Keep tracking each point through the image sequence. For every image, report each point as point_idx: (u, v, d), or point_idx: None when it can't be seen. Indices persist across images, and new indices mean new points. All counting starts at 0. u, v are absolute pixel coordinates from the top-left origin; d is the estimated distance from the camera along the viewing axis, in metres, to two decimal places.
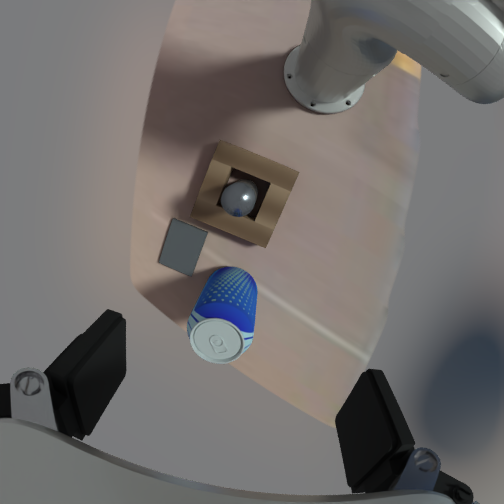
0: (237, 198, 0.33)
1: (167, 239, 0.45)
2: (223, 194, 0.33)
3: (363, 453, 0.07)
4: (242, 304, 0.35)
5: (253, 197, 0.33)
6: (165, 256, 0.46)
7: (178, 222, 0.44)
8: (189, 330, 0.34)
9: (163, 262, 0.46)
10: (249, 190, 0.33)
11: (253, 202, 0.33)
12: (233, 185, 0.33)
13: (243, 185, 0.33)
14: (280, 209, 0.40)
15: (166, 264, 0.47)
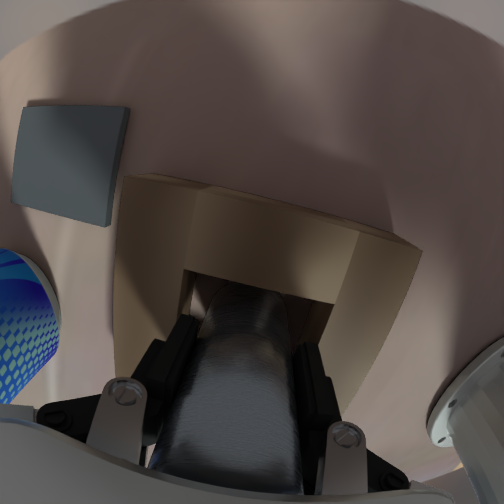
0: None
1: (70, 109, 0.11)
2: (235, 472, 0.04)
3: None
4: None
5: None
6: (34, 119, 0.11)
7: (116, 128, 0.12)
8: None
9: (23, 119, 0.11)
10: None
11: None
12: (291, 491, 0.05)
13: None
14: None
15: (21, 128, 0.12)
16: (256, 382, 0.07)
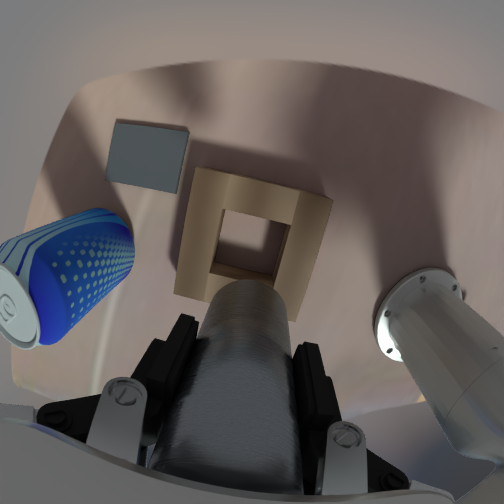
0: None
1: (153, 129, 0.25)
2: (235, 471, 0.04)
3: None
4: (77, 316, 0.18)
5: None
6: (126, 131, 0.25)
7: (183, 142, 0.25)
8: (5, 252, 0.14)
9: (116, 130, 0.25)
10: None
11: None
12: (292, 490, 0.05)
13: None
14: None
15: (114, 136, 0.25)
16: (257, 381, 0.07)
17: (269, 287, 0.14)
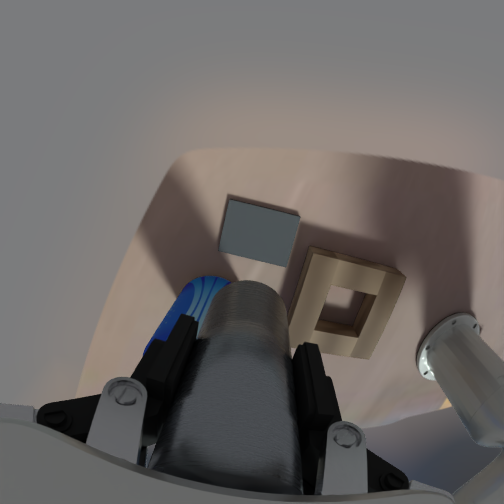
0: None
1: (268, 211, 0.31)
2: (235, 474, 0.04)
3: None
4: None
5: None
6: (241, 209, 0.31)
7: (296, 226, 0.32)
8: None
9: (231, 207, 0.31)
10: None
11: None
12: (291, 492, 0.05)
13: None
14: (329, 351, 0.33)
15: (228, 212, 0.32)
16: (256, 384, 0.07)
17: (269, 288, 0.14)
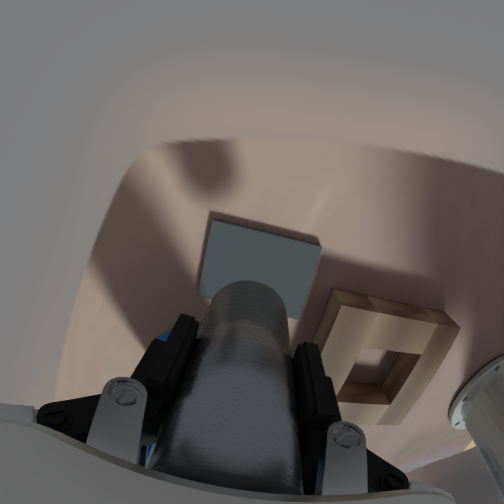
0: None
1: (272, 238, 0.20)
2: (235, 474, 0.04)
3: None
4: None
5: None
6: (230, 235, 0.20)
7: (314, 260, 0.20)
8: None
9: (215, 231, 0.20)
10: None
11: None
12: (291, 492, 0.05)
13: None
14: (351, 422, 0.22)
15: (211, 239, 0.20)
16: (256, 384, 0.07)
17: (269, 288, 0.14)
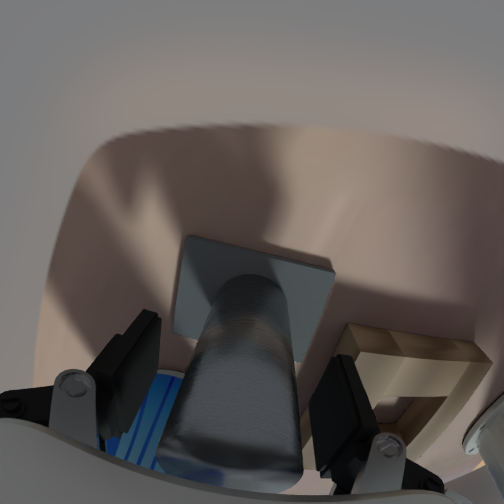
0: (237, 470, 0.06)
1: (269, 262, 0.15)
2: (241, 439, 0.05)
3: (329, 436, 0.08)
4: None
5: None
6: (211, 258, 0.15)
7: (325, 291, 0.15)
8: None
9: (190, 253, 0.15)
10: (276, 490, 0.06)
11: None
12: (292, 461, 0.06)
13: (295, 479, 0.06)
14: None
15: (186, 263, 0.15)
16: (260, 362, 0.08)
17: (271, 281, 0.15)
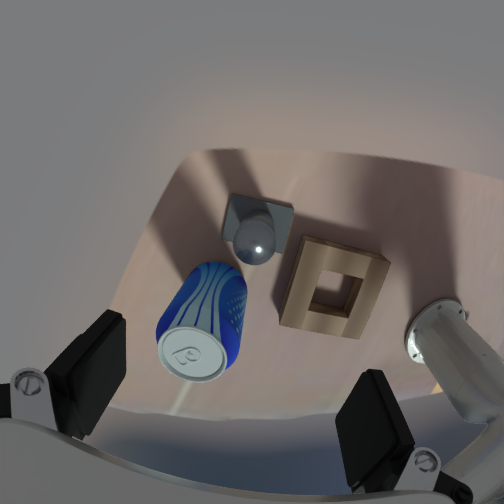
0: (257, 242, 0.27)
1: (265, 204, 0.36)
2: (258, 225, 0.26)
3: (363, 452, 0.07)
4: None
5: (261, 262, 0.27)
6: (242, 202, 0.36)
7: (290, 217, 0.36)
8: (191, 316, 0.25)
9: (233, 200, 0.36)
10: (268, 256, 0.27)
11: (254, 263, 0.27)
12: (272, 236, 0.26)
13: (274, 248, 0.27)
14: (322, 331, 0.38)
15: (231, 204, 0.36)
16: (262, 219, 0.29)
17: None
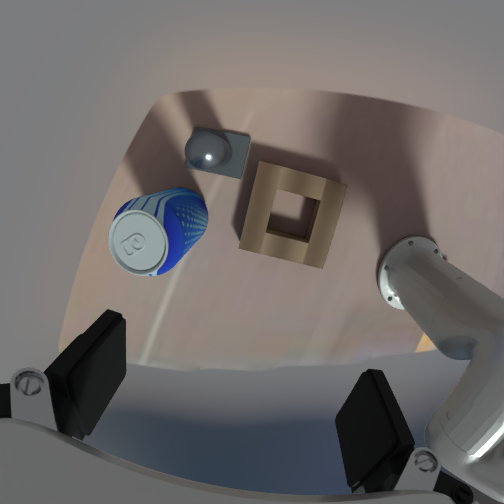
0: (205, 148, 0.28)
1: (224, 133, 0.37)
2: (206, 133, 0.28)
3: (363, 453, 0.07)
4: (184, 253, 0.30)
5: (210, 166, 0.29)
6: None
7: (247, 144, 0.37)
8: (139, 204, 0.26)
9: (195, 132, 0.37)
10: (216, 159, 0.29)
11: (204, 167, 0.29)
12: (218, 141, 0.28)
13: (220, 152, 0.28)
14: (282, 256, 0.39)
15: None
16: None
17: None
